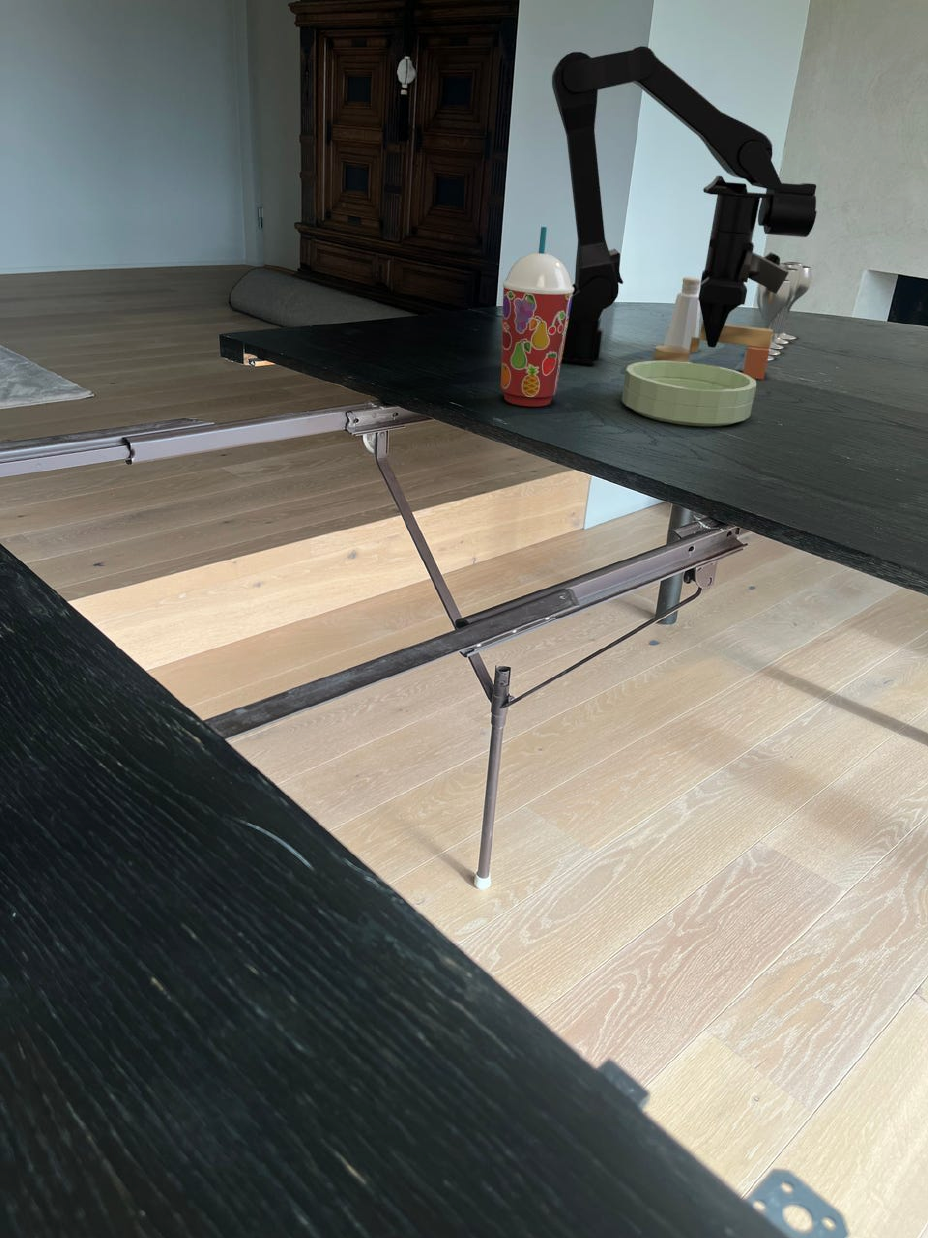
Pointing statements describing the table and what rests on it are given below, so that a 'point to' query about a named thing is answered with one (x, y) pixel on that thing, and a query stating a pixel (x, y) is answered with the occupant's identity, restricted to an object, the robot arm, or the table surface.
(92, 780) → the table surface
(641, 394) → the bowl
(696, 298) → the salt shaker
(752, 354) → the orange upright block
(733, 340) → the wooden z bracket
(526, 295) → the smoothie
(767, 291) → the goblet set
